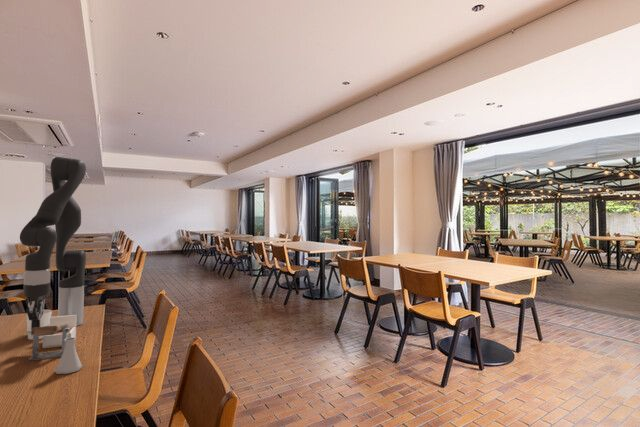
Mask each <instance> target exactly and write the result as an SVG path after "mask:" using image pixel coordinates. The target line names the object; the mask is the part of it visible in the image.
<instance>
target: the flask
mask: <svg viewBox="0 0 640 427" xmlns="http://www.w3.org/2000/svg"><path fill="white" fill-rule="evenodd" d="M76 340H77V337H76V338H75V337H70V338H66V339H64V341H65V347H64V351H63V354H62V356H61V357H60V359H59V361H58V364H57V366H56V367H55V370H54V371H55V373H56V375H66V374H71V373H75V372H78V371H80V370H81V369H82V368H83V365H82V363H81V360H80V358H79V355H78V353H77V349H76Z"/></svg>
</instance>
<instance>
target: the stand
mask: <svg viewBox="0 0 640 427" xmlns="http://www.w3.org/2000/svg"><path fill="white" fill-rule="evenodd" d="M67 332H69V328H68V326H64V327H63V332H62V346H61V350H55V351H54V350H53V351H47V352H46V351H45V352H39V346H40V345H39V344H40V342H39V341H40V339H39V336H35V337H34V333H33V334H31V335H33V340H32V354H31V356H30V357H29V359H28V362H32V361H41V360H49V359H56V358H57V359H58V358H61V356H62V354H63V351H64V347H65V341H64V339H66V338H67Z"/></svg>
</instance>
